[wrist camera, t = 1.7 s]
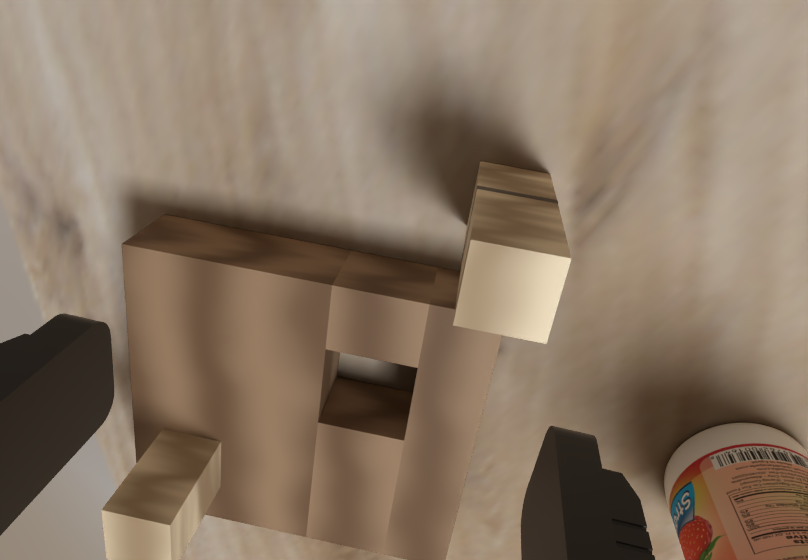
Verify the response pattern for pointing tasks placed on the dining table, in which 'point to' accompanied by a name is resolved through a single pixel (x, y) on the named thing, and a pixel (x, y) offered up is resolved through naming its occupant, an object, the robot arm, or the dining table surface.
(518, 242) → the peg
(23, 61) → the dining table surface
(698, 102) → the dining table surface
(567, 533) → the robot arm
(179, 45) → the dining table surface
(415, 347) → the seat board
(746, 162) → the dining table surface
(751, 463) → the fruit juice
